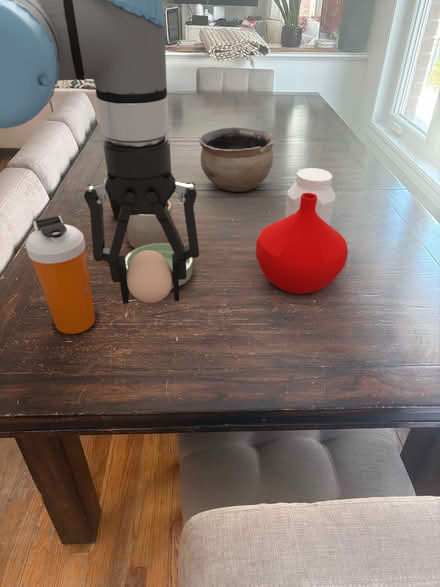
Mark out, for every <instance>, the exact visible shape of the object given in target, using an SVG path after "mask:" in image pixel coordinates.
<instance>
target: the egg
mask: <svg viewBox="0 0 440 587" xmlns="http://www.w3.org/2000/svg"><path fill="white" fill-rule="evenodd" d="M126 283H127V287H128V289H129V291H130V294H131V295H132V296H133V297H134V298H135V299H137V300H138V301H141V302H142V303H147V304H153V303H157V302H160V301H163V299H165V298H166V297H167V296H168V295H169V293H170V292H171V290H172V289H171V288H172V286H173V272H172V268H171V266H170V264H169V263H168V261H167V260H166V259H165V258H164V257H163V256H162V255H161V254H160V253H158V252H156V251H152V250H146V251H142V252H140V253H138V254H137V255H135V256H134V257H133V259H132V260H131V262H130V264H129V266H128V268H127V272H126Z"/></svg>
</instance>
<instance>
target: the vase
mask: <svg viewBox="0 0 440 587" xmlns="http://www.w3.org/2000/svg"><path fill="white" fill-rule="evenodd" d="M316 202H317V195H315V194H313V193H303V194H302V195H301V201H300V207H299V210H298V211H297V212H296V213H294V214H292V215H290V216H288V217H286V218H285V217H284V218H283V219H280V220H278V221H276V222H273V223H271V224H269V225H266V226H265V227H264V228H263V229H262V230H261V231H260V233H259V235H258V237H257V239H256V241H255V243H256V244H255V257H256V260H257V262H258V265H259V268H260V270H261V272H262V274H263V275H264V276H265V277H266V279H267V280H268V281H269V282H270V283H271V284H272V285H274V286H275V287H276V288H278V289H280V290H281V291H285V292H288V293H291V294H300V295H303V294H311V293H314V292H317V291H320V290H322V289H324V288H326V287H327V286H329V285H330V284H331V283H333V282H334V281H335V280H336V279H337V277H338V275H339V274H341V272H342V271H343V269H344V268H345V267H346V264H347V260H348V254H349V249H348V244H347V241H346V239H345V237H344V236H343V235H342V234H341V233H340V232H339V231H337V230H336V229H335V228H333V227H332V226H331V225H330V226H329V225H328V224H327V223H326V222H325V221H324V220H322V219H321V218H320V217H319V216H318V215H317V213H316V211H315V208H316Z"/></svg>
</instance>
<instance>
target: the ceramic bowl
mask: <svg viewBox="0 0 440 587" xmlns="http://www.w3.org/2000/svg"><path fill="white" fill-rule="evenodd" d="M274 139H275V136H274V135H273V134H272V133H270V132H268V131H265V130H258V129H253V128H247V127H235V126H234V127H232V126H231V127H223V128H219V129H214V130H211V131H208V132H205V133H204V134H202V135H201V136H200V137H199V138H198V140H199V141H198V142H199V144H200V146H201V152H200V166H201V169H202V171H203V173H204V175H206V178H208V180H209V181H210V182H211V183H213V184H214V185H215V186H216V187H217V188H219V189H221V190H225V191H228V192H233V193H235V192H237V193H243V192H248V191H251V190H253V189H255V188H257V187H258V186H259V185H260V184H262V183H263V182H264V181H265V179H266V178H267V177H268V176H269V174H270V172H271V169H272V167H273V164H274V153H273V146H274V142H275V141H274Z"/></svg>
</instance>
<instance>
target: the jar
mask: <svg viewBox="0 0 440 587" xmlns="http://www.w3.org/2000/svg"><path fill="white" fill-rule="evenodd" d="M332 182H333V174H332V173H331V172H330V171H328V170H326V169H321V168H315V167H306V168H301V169H298V171H297V172H296V178H295V182H294V183H293V184H292V185H291V186H290V187H289V189H288V190H287V193H286V204H285V205H286V206H285V213H284V218H286V217H288V216H290V215H292V214H294V213H296V212H297V211H298V210H299V207H300V201H301V195H302V194H303V193H313V194H315V195H317V202H316V208H315V211H316V213H317V215H318V216H319V217H320V218H321V219H322V220H324V221H325V222H326V223H327V224H328V225H329V226H331V221H332V216H333V210H334V207H335V202H336V199H337V196H336V193H335V190H334V189H333V187H332Z"/></svg>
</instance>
